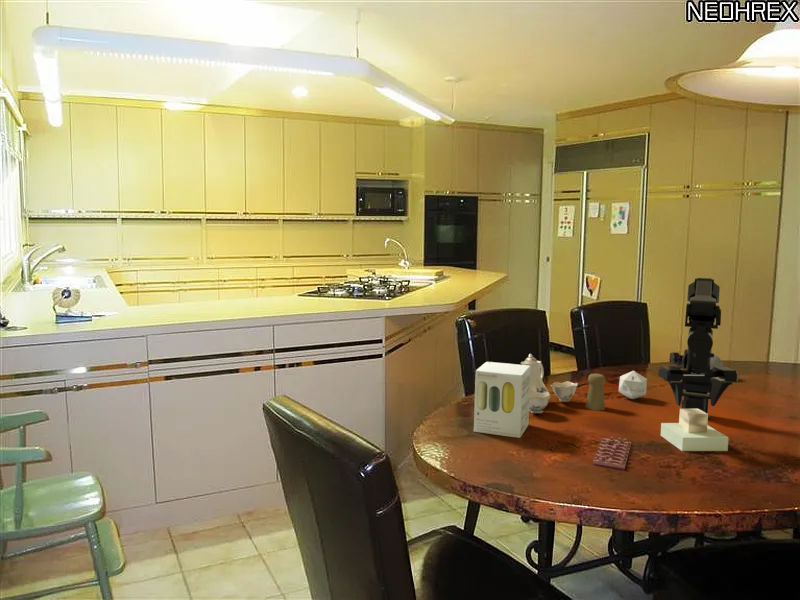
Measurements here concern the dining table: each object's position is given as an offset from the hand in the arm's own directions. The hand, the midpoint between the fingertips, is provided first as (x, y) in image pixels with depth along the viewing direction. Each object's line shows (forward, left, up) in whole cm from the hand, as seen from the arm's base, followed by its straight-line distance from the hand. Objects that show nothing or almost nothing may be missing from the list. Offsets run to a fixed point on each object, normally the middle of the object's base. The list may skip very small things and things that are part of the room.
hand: (695, 405), depth 165 cm
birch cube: (0, 0, -7) cm, 7 cm away
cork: (+15, -32, -10) cm, 37 cm away
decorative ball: (-43, -72, -10) cm, 85 cm away
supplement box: (+49, -12, -10) cm, 51 cm away
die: (-1, -42, -10) cm, 43 cm away
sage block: (0, 0, -11) cm, 11 cm away
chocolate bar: (+25, +8, -11) cm, 28 cm away
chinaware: (+32, -34, -10) cm, 48 cm away
